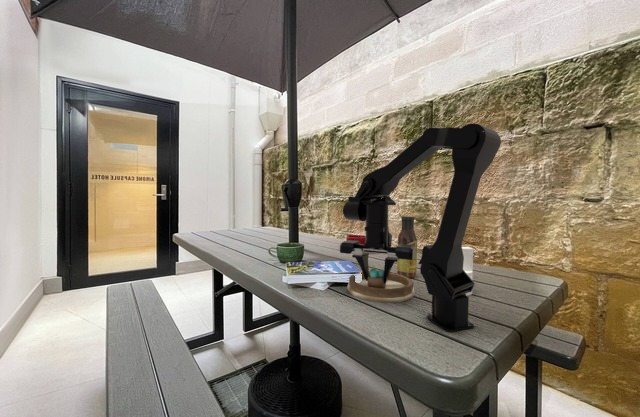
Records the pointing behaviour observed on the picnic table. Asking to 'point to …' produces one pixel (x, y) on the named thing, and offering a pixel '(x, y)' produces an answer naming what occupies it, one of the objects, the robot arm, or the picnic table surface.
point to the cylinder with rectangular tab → (468, 263)
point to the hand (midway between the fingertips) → (376, 281)
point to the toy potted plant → (376, 278)
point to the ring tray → (386, 300)
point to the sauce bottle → (407, 238)
